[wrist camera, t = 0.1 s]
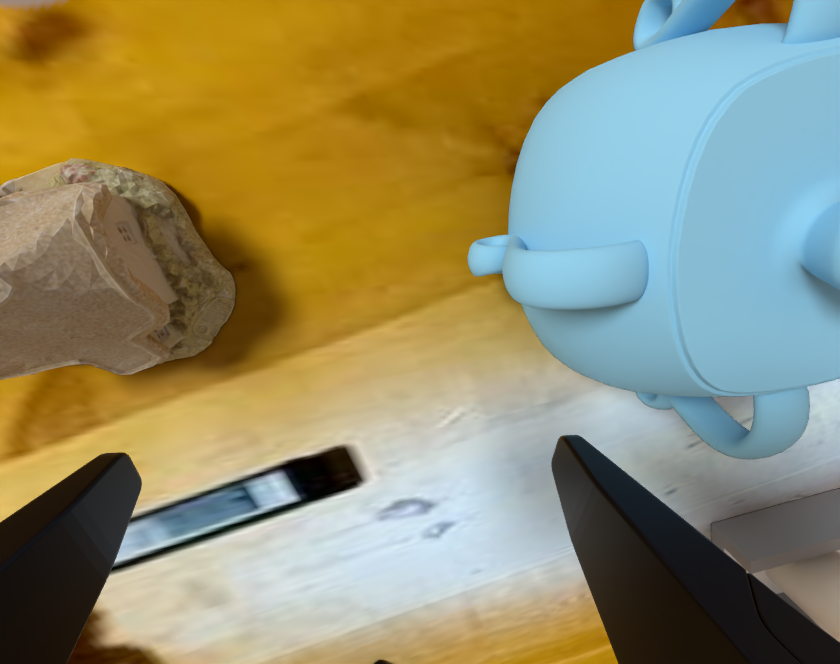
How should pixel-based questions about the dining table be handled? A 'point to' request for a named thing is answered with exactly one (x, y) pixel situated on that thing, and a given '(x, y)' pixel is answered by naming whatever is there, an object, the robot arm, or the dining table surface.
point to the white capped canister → (813, 588)
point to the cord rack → (781, 536)
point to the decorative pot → (690, 219)
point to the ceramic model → (103, 273)
